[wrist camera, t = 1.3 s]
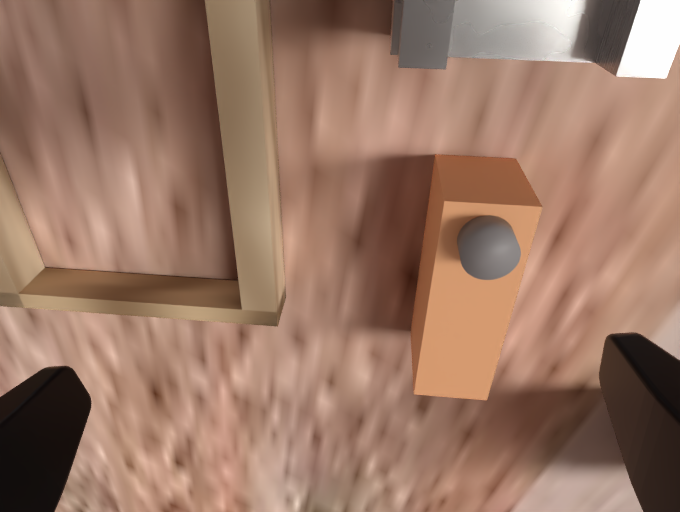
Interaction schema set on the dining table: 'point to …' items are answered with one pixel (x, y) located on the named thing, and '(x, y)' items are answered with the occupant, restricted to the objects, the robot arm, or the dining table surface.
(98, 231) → the dining table surface
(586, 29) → the block
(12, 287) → the bay
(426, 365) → the crank handle
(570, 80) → the dining table surface
